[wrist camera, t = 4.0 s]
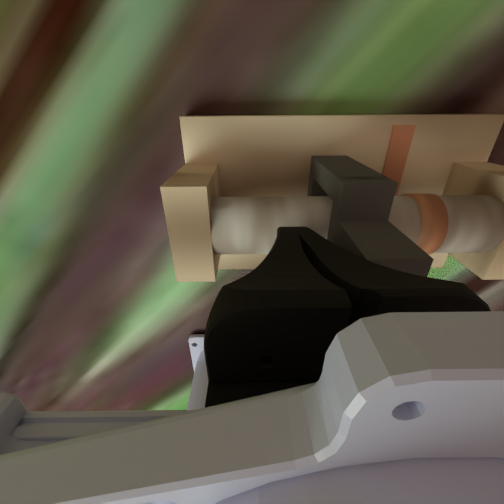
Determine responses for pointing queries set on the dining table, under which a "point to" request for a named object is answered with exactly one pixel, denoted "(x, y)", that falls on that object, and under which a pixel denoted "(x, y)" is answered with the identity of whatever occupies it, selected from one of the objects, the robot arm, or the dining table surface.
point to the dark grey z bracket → (364, 214)
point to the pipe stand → (319, 207)
